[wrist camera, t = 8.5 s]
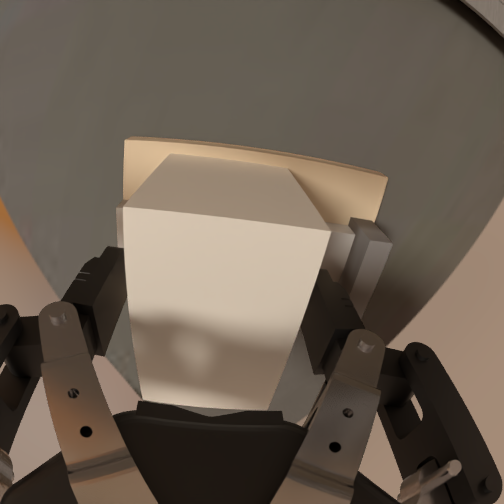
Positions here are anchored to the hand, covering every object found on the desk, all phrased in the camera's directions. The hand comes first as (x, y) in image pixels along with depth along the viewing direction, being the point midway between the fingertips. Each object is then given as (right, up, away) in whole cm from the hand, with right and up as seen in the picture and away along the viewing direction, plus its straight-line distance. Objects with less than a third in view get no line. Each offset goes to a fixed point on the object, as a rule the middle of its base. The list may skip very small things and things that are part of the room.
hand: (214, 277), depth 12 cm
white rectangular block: (0, +1, +2) cm, 3 cm away
